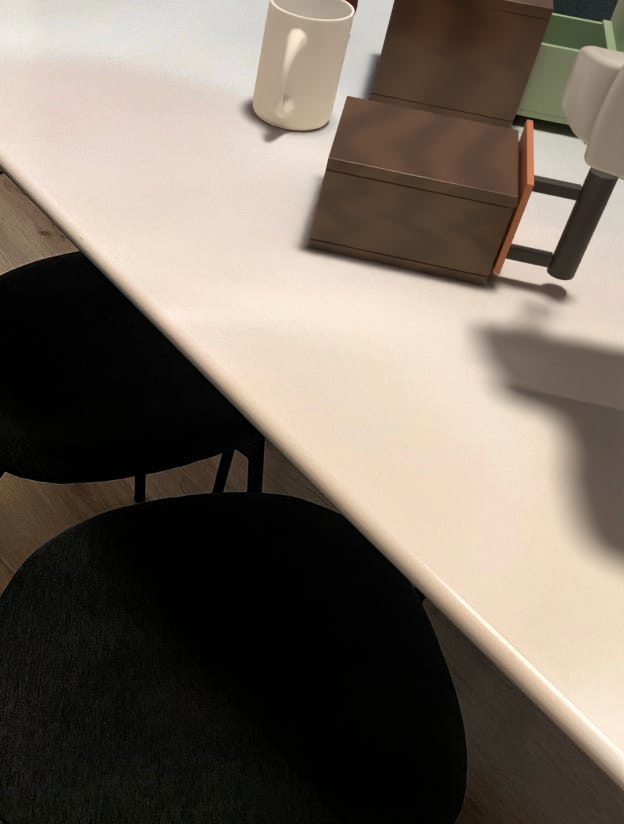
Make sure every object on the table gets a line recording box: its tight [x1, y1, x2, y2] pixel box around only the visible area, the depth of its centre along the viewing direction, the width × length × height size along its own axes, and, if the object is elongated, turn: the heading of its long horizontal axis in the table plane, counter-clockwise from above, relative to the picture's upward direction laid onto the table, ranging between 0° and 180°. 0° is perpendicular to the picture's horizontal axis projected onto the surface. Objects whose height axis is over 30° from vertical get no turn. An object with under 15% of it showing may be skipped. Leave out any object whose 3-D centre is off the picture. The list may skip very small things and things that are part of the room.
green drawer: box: [516, 0, 624, 126], centre depth 112 cm, size 22×14×11 cm, turn 76°
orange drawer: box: [492, 119, 619, 281], centre depth 91 cm, size 22×14×9 cm, turn 76°
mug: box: [252, 0, 356, 132], centre depth 105 cm, size 9×12×11 cm
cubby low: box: [307, 95, 520, 286], centre depth 92 cm, size 16×14×8 cm
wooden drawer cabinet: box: [368, 0, 554, 129], centre depth 114 cm, size 16×14×12 cm
